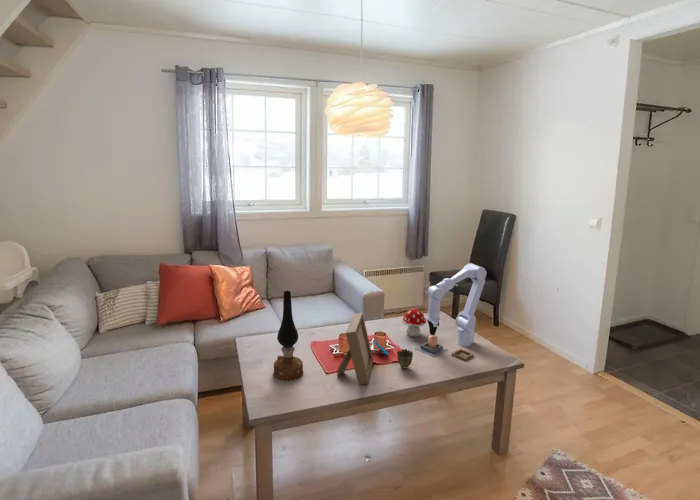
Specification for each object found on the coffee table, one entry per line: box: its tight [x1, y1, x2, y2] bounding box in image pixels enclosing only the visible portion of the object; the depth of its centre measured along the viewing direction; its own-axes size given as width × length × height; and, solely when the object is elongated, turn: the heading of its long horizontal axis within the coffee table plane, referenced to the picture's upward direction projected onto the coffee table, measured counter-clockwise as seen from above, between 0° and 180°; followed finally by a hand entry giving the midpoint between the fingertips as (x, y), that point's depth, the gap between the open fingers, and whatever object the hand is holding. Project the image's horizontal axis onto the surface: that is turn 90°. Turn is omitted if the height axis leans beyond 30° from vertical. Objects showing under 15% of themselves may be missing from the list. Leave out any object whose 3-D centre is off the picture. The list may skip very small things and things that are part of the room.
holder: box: [449, 348, 476, 363], centre depth 210 cm, size 9×9×2 cm
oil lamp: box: [272, 290, 304, 382], centre depth 187 cm, size 14×15×40 cm
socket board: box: [414, 341, 449, 358], centre depth 216 cm, size 12×12×3 cm
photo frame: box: [336, 312, 374, 385], centre depth 192 cm, size 15×22×25 cm
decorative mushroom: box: [401, 308, 427, 338], centre depth 235 cm, size 14×14×15 cm
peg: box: [427, 334, 438, 349], centre depth 216 cm, size 4×4×7 cm
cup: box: [396, 348, 414, 370], centre depth 198 cm, size 7×7×8 cm
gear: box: [373, 339, 389, 356], centre depth 213 cm, size 11×6×10 cm
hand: (432, 334), depth 215 cm, fingers closed
